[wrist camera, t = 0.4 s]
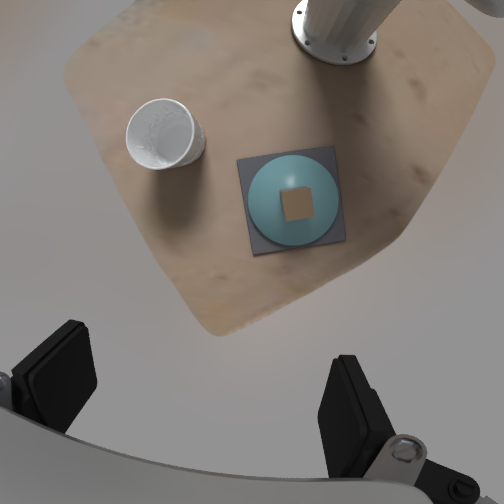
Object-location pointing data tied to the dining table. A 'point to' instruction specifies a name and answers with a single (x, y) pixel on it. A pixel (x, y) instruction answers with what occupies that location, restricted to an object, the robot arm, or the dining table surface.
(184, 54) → the dining table surface
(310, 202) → the lid
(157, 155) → the white cup
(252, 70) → the dining table surface
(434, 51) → the dining table surface
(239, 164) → the mat
